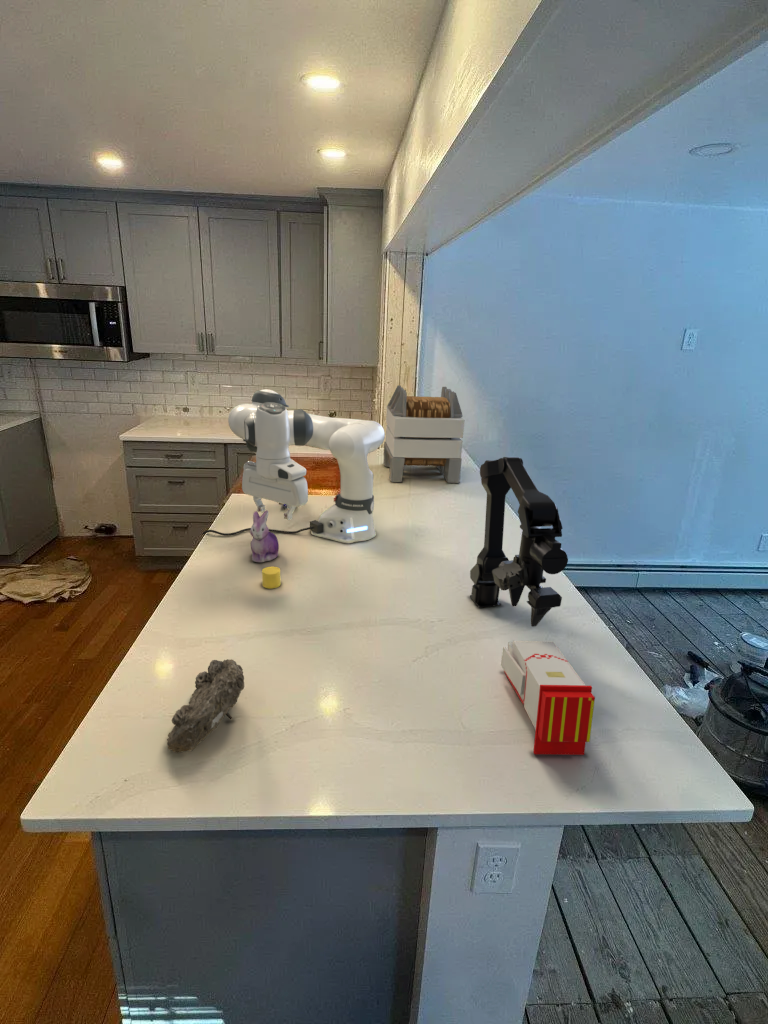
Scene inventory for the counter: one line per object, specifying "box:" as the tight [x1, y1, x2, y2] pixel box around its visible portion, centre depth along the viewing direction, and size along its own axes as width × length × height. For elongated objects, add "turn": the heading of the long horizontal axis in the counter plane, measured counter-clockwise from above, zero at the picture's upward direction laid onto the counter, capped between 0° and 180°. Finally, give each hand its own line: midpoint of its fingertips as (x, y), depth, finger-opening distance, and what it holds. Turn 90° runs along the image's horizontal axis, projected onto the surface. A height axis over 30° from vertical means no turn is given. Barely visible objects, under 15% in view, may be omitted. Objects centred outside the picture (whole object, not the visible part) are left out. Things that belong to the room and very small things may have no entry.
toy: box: [500, 640, 596, 756], centre depth 114 cm, size 12×13×30 cm
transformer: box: [383, 384, 465, 484], centre depth 268 cm, size 34×33×41 cm
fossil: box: [166, 658, 245, 754], centre depth 106 cm, size 22×10×15 cm
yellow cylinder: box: [261, 566, 282, 590], centre depth 159 cm, size 5×5×4 cm
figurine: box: [249, 509, 280, 563], centre depth 174 cm, size 9×10×15 cm
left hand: (274, 515), depth 154 cm, fingers open, 8 cm apart
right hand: (523, 615), depth 131 cm, fingers open, 9 cm apart
